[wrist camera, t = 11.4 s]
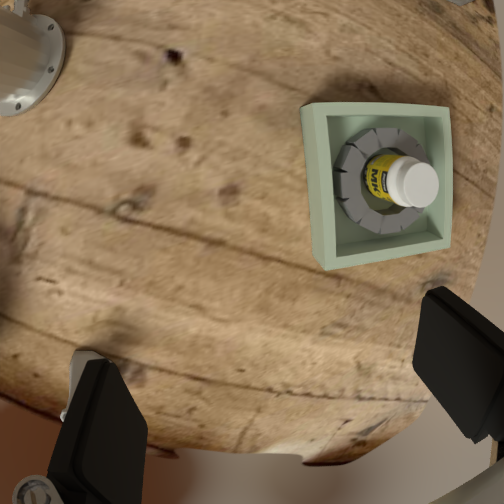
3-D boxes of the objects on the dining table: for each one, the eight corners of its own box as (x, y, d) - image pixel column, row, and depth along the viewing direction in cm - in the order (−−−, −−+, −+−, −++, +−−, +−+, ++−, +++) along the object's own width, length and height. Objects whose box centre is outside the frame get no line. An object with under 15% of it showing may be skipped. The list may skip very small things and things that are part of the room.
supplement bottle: (353, 165, 32) (391, 171, 24) (387, 146, 31) (431, 148, 23) (371, 204, 33) (411, 221, 25) (404, 185, 33) (448, 197, 25)
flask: (118, 356, 37) (99, 410, 28) (118, 394, 39) (102, 446, 30) (68, 342, 36) (40, 391, 27) (72, 381, 38) (49, 429, 29)
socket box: (299, 108, 30) (312, 102, 26) (426, 108, 31) (449, 107, 27) (312, 255, 35) (325, 270, 31) (429, 236, 36) (449, 247, 32)
